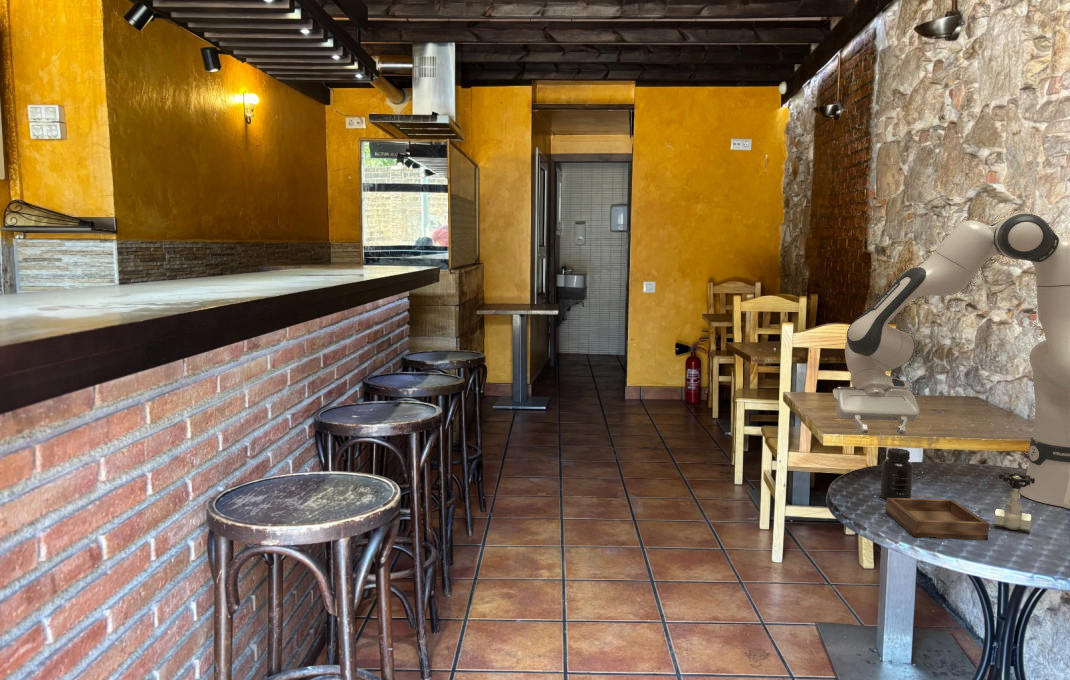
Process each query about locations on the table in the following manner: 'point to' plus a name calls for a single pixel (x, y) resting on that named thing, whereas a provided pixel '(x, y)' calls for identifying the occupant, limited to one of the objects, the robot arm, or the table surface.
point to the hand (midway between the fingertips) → (883, 432)
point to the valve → (1014, 504)
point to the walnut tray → (937, 518)
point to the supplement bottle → (896, 474)
